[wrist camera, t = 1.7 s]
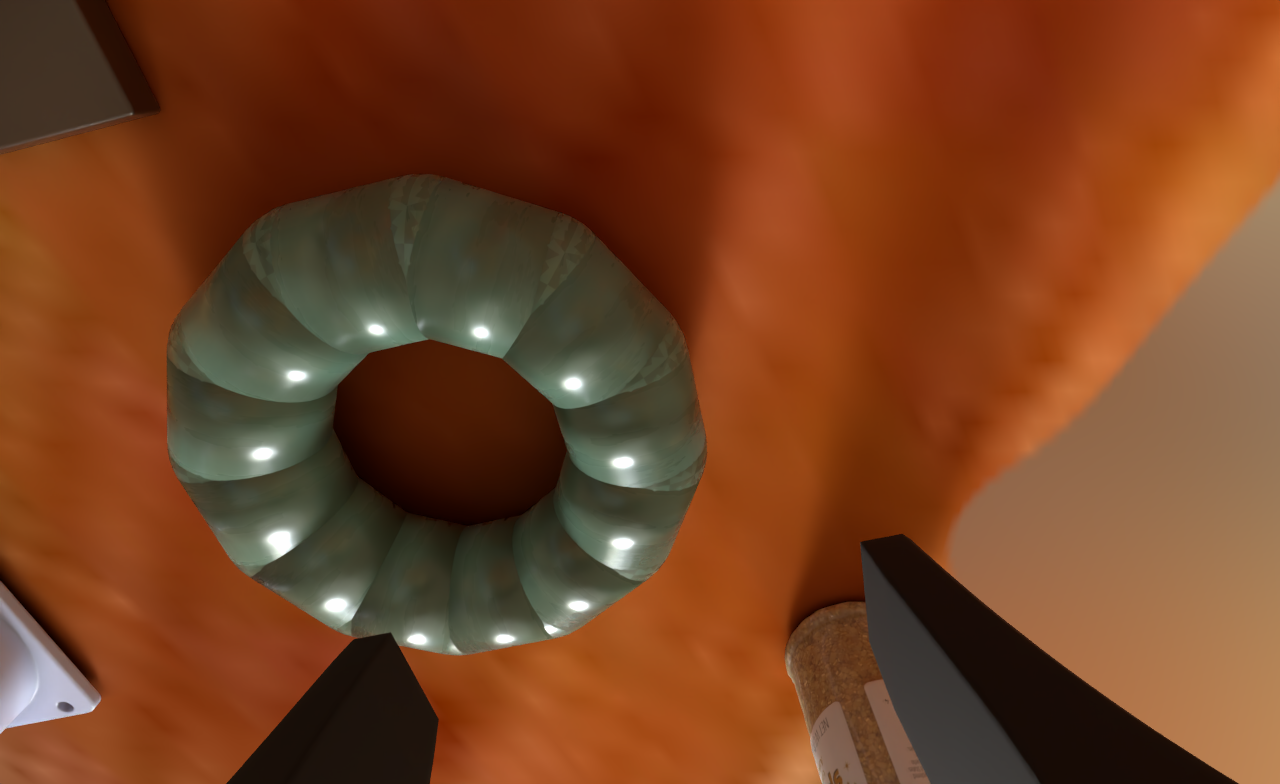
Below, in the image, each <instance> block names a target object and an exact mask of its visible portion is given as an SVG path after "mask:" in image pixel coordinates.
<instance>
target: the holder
mask: <svg viewBox="0 0 1280 784" xmlns="http://www.w3.org/2000/svg"><path fill="white" fill-rule="evenodd" d="M159 112H160V107H159V105H158V103H157V101H156V100H155V98H154V96H153V94H152V92H151V90H150V88H149V86H148V84H147V82H146V80H145V78H144V76H143V74H142V72H141V70H140V68H139V66H138V64H137V62H136V60H135V58H134V57H133V55H132V53H131V51H130V49H129V47H128V45H127V43H126V41H125V39H124V37H123V35H122V33H121V31H120V29H119V27H118V25H117V23H116V21H115V19H114V17H113V16H112V14H111V12H110V10H109V8H108V6H107V4H106V2H105V0H0V154H4V153H8V152H12V151H16V150H20V149H24V148H27V147H31V146H35V145H39V144H43V143H47V142H50V141H54V140H58V139H62V138H66V137H70V136H73V135H77V134H81V133H85V132H89V131H93V130H97V129H100V128H104V127H108V126H112V125H116V124H120V123H123V122H127V121H131V120H135V119H139V118H143V117H146V116H150V115H154V114H158V113H159Z"/></svg>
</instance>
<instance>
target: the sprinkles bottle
mask: <svg viewBox="0 0 1280 784" xmlns="http://www.w3.org/2000/svg"><path fill="white" fill-rule="evenodd" d="M785 662H786V668H787V673H788V675H789V676H790V678H791V679H792V681H793V683H794V684H795V687H796V691H797V694H798V697H799V701H800V704H801V708H802V711H803V714H804V718H805V721H806V725H807V729H808V732H809V735H810V738H811V740H810V741H811V747H812V752H813V755H814V758H815V762H816V765H817V768H818V772H819V775H820V778H821V781H822V784H931V783H930V781H929V779H928V777H927V775H926V773H925V771H924V769H923V767H922V765H921V763H920V761H919V759H918V757H917V755H916V753H915V751H914V749H913V747H912V745H911V743H910V741H909V739H908V737H907V735H906V733H905V731H904V728H903V726H902V724H901V722H900V720H899V718H898V716H897V714H896V712H895V710H894V707H893V705H892V702H891V699H890V697H889V694H888V691H887V689H886V686H885V683H884V681H883V678H882V675H881V673H880V670H879V667H878V664H877V662H876V659H875V656H874V653H873V651H872V648H871V645H870V642H869V634H868V623H867V612H866V602H844V603H840V604H836V605H832V606H829V607H826V608H822V609H820V610H817V611H816V612H815V613H814V614H812V615H811V616H809V617H807V618H805V619H804V620H803V621H802V622H801V624H800V625H799V626H798V627H797V628H796V630H795V631H794V632H793V633H792V634H791V636H790V639H789V641H788V642H787V644H786V649H785Z"/></svg>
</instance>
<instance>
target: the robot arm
mask: <svg viewBox="0 0 1280 784" xmlns="http://www.w3.org/2000/svg"><path fill="white" fill-rule="evenodd" d="M860 546H861V557H862V568H863V579H864V590H865V601H866V612H867V623H868V634H869V642H870V645H871V648H872V651H873V653H874V656H875V659H876V662H877V664H878V667H879V670H880V673H881V675H882V678H883V681H884V683H885V686H886V689H887V691H888V694H889V697H890V699H891V702H892V705H893V707H894V710H895V712H896V714H897V716H898V718H899V720H900V722H901V724H902V726H903V728H904V731H905V733H906V735H907V737H908V739H909V741H910V743H911V745H912V747H913V749H914V751H915V753H916V755H917V757H918V759H919V761H920V763H921V765H922V767H923V769H924V771H925V773H926V775H927V777H928V779H929V781H930V783H931V784H1238V783H1237V782H1235V781H1234V780H1232V779H1230V778H1229V777H1227V776H1225V775H1224V774H1222V773H1220V772H1219V771H1217V770H1215V769H1214V768H1212V767H1211V766H1209V765H1208V764H1206V763H1205V762H1203V761H1201V760H1200V759H1198V758H1197V757H1195V756H1193V755H1192V754H1191V753H1189V752H1187V751H1186V750H1184V749H1183V748H1181V747H1180V746H1178V745H1177V744H1175V743H1173V742H1172V741H1170V740H1169V739H1167V738H1166V737H1164V736H1163V735H1161V734H1160V733H1158V732H1156V731H1155V730H1154V729H1152V728H1151V727H1149V726H1148V725H1146V724H1145V723H1143V722H1141V721H1140V720H1139V719H1137V718H1136V717H1134V716H1133V715H1131V714H1130V713H1129V712H1127V711H1126V710H1124V709H1123V708H1121V707H1120V706H1118V705H1117V704H1116V703H1114V702H1113V701H1111V700H1110V699H1108V698H1107V697H1106V696H1104V695H1103V694H1101V693H1100V692H1099V691H1097V690H1096V689H1094V688H1093V687H1091V686H1090V685H1089V684H1088V683H1086V682H1085V681H1083V680H1082V679H1081V678H1079V677H1078V676H1076V675H1075V674H1074V673H1072V672H1071V671H1070V670H1068V669H1067V668H1066V667H1064V666H1063V665H1062V664H1060V663H1059V662H1058V661H1056V660H1055V659H1054V658H1052V657H1051V656H1050V655H1048V654H1047V653H1046V652H1044V651H1043V650H1042V649H1040V648H1039V647H1038V646H1037V645H1035V644H1034V643H1033V642H1032V641H1030V640H1029V639H1028V638H1026V637H1025V636H1024V635H1022V634H1021V633H1020V632H1019V631H1018V630H1016V629H1015V628H1014V627H1013V626H1011V625H1010V624H1009V623H1007V622H1006V621H1005V620H1004V619H1002V618H1001V617H1000V616H999V615H997V614H996V613H995V612H994V611H993V610H991V609H990V608H989V607H987V606H986V605H985V604H984V603H983V602H981V601H980V600H979V599H978V598H977V597H976V596H974V595H973V594H972V593H971V592H970V591H969V590H967V589H966V588H965V587H964V586H963V585H962V584H960V583H959V582H958V581H957V580H956V579H955V578H953V577H952V576H951V575H950V574H949V573H948V572H946V571H945V570H944V569H943V568H942V567H941V566H940V565H939V564H937V563H936V562H935V561H934V560H933V559H932V558H931V557H930V556H928V555H927V554H926V553H925V552H924V551H923V550H922V549H921V548H920V547H918V546H917V545H916V544H915V543H914V542H913V541H912V540H911V539H910V538H908V537H906V536H905V535H903V534H899V535H894V536H889V537H883V538H878V539H873V540H868V541H863V542H860ZM100 701H101V696H100V694H99V692H98V691H97V690H96V689H95V688H94V687H93V685H92V684H91V683H90V682H89V681H88V680H87V679H86V677H85V676H84V675H83V674H82V673H81V672H80V671H79V670H78V668H77V667H76V666H75V665H74V664H73V663H72V662H71V660H70V659H69V658H68V657H67V656H66V655H65V654H64V652H63V651H62V650H61V649H60V648H59V647H58V646H57V644H56V643H55V642H54V641H53V640H52V639H51V638H50V636H49V635H48V634H47V633H46V632H45V631H44V630H43V628H42V627H41V626H40V625H39V624H38V623H37V622H36V621H35V619H34V618H33V617H32V616H31V615H30V614H29V613H28V611H27V610H26V609H25V608H24V607H23V606H22V605H21V603H20V602H19V601H18V600H17V599H16V598H15V597H14V595H13V594H12V593H11V592H10V591H9V590H8V589H7V587H6V586H5V585H4V584H3V583H2V582H1V581H0V734H1V733H2V732H3V731H4V729H5V728H10V727H15V726H20V725H26V724H31V723H36V722H41V721H47V720H52V719H57V718H62V717H68V716H73V715H78V714H83V713H88V712H91V711H93V710H94V708H95V707H96V706H97V705H98V704H99V702H100ZM438 720H439V719H438V717H437V716H436V714H435V712H434V710H433V708H432V706H431V705H430V703H429V701H428V699H427V697H426V695H425V694H424V692H423V690H422V688H421V686H420V685H419V683H418V681H417V679H416V677H415V675H414V674H413V672H412V670H411V668H410V666H409V664H408V663H407V661H406V659H405V657H404V655H403V653H402V652H401V650H400V648H399V646H398V644H397V643H396V641H395V639H394V637H393V635H392V633H391V632H389V633H384V634H379V635H374V636H369V637H363V638H358V639H354V640H353V641H352V642H351V643H350V644H349V645H348V646H347V647H346V648H345V649H344V650H343V651H342V652H341V653H340V654H339V656H338V657H337V658H336V659H335V660H334V661H333V662H332V663H331V664H330V666H329V667H328V668H327V669H326V670H325V671H324V672H323V674H322V675H321V676H320V677H319V678H318V679H317V680H316V682H315V683H314V684H313V685H312V686H311V687H310V688H309V690H308V691H307V692H306V693H305V694H304V695H303V697H302V698H301V699H300V700H299V701H298V702H297V704H296V705H295V706H294V707H293V708H292V709H291V711H290V712H289V713H288V714H287V715H286V716H285V717H284V719H283V720H282V721H281V722H280V723H279V724H278V726H277V727H276V728H275V729H274V730H273V731H272V732H271V734H270V735H269V736H268V737H267V738H266V739H265V740H264V742H263V743H262V744H261V745H260V746H259V747H258V748H257V750H256V751H255V752H254V753H253V754H252V755H251V756H250V758H249V759H248V760H247V761H246V762H245V763H244V764H243V766H242V767H241V768H240V769H239V770H238V771H237V772H236V773H235V775H234V776H233V777H232V778H231V779H230V780H229V781H228V782H227V783H226V784H430V777H431V771H432V765H433V759H434V751H435V743H436V735H437V727H438Z"/></svg>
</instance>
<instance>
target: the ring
mask: <svg viewBox="0 0 1280 784" xmlns="http://www.w3.org/2000/svg"><path fill="white" fill-rule="evenodd" d="M428 339H431V340H435V341H439V342H442V343H446V344H450V345H454V346H457V347H461V348H465V349H469V350H473V351H476V352H480V353H484V354H488V355H491V356H495V357H499V358H502V359H503V360H504V361H505V362H506V363H507V364H509V365H510V366H511V367H512V368H513V369H514V370H515V371H516V372H518V373H519V374H520V375H521V376H522V377H523V378H524V379H525V380H527V381H528V382H529V383H530V384H531V385H532V386H533V387H534V388H536V389H537V390H538V391H539V392H540V393H541V394H542V395H543V396H545V397H546V398H547V399H548V400H549V401H550V402H551V403H552V404H553V408H554V411H555V414H556V417H557V420H558V423H559V426H560V429H561V432H562V435H563V439H564V442H565V445H566V448H567V452H566V456H565V459H564V462H563V465H562V469H561V472H560V475H559V478H558V482H557V485H556V487H555V488H554V489H553V490H552V491H550V492H549V493H548V494H547V495H546V496H544V497H543V498H542V499H541V500H539V501H538V502H537V503H536V504H535V505H533V506H532V507H531V508H530V509H529V510H527V511H526V512H525V513H524V514H522V515H520V516H515V517H510V518H505V519H500V520H495V521H490V522H485V523H481V524H476V525H471V526H465V525H461V524H456V523H452V522H447V521H443V520H438V519H434V518H429V517H425V516H420V515H416V514H411V513H407V512H406V511H404V510H403V509H401V508H400V507H399V506H397V505H396V504H395V503H393V502H392V501H391V500H389V499H388V498H386V497H385V496H384V495H382V494H381V493H380V492H378V491H377V490H375V489H374V488H373V487H371V486H370V485H369V484H367V483H366V482H365V481H363V480H362V479H360V478H359V477H358V476H357V475H356V473H355V471H354V469H353V467H352V465H351V463H350V461H349V459H348V457H347V455H346V453H345V451H344V449H343V447H342V445H341V443H340V441H339V439H338V437H337V435H336V433H335V431H334V429H333V422H334V414H335V406H336V397H337V389H338V384H339V383H340V382H341V381H342V380H343V379H344V378H345V377H346V376H347V375H348V374H349V373H350V372H351V371H352V370H353V369H354V368H355V367H356V366H357V365H358V364H359V363H360V362H361V361H362V360H363V359H364V358H365V357H366V356H367V355H368V354H369V353H370V352H375V351H379V350H383V349H388V348H392V347H397V346H401V345H406V344H410V343H414V342H419V341H423V340H428ZM167 445H168V453H169V459H170V462H171V465H172V468H173V470H174V472H175V474H176V476H177V478H178V479H179V481H180V483H181V484H182V486H183V487H184V489H185V490H186V492H187V493H188V495H189V496H190V498H191V499H192V501H193V502H194V504H195V505H196V507H197V508H198V510H199V512H200V513H201V515H202V516H203V518H204V519H205V521H206V522H207V524H208V525H209V527H210V528H211V530H212V531H213V533H214V534H215V536H216V537H217V539H218V541H219V542H220V544H221V545H222V547H223V548H224V550H225V551H226V553H227V554H228V556H229V557H230V559H231V560H232V561H233V563H234V564H235V565H236V566H237V567H238V568H239V569H240V570H241V571H242V572H244V573H245V574H246V575H248V576H249V577H250V578H252V579H253V580H255V581H257V582H258V583H260V584H262V585H263V586H265V587H266V588H268V589H270V590H271V591H273V592H274V593H276V594H278V595H279V596H281V597H282V598H284V599H286V600H287V601H289V602H290V603H292V604H294V605H295V606H297V607H298V608H300V609H302V610H303V611H305V612H306V613H308V614H310V615H311V616H313V617H314V618H316V619H318V620H319V621H321V622H322V623H324V624H326V625H327V626H329V627H331V628H332V629H335V630H336V631H338V632H340V633H343V634H345V635H349V636H353V637H357V638H363V637H369V636H374V635H379V634H384V633H389V632H391V633H392V635H393V637H394V639H395V641H396V643H397V644H398V645H399V646H405V647H410V648H415V649H420V650H426V651H431V652H436V653H441V654H449V655H468V654H474V653H480V652H485V651H490V650H496V649H501V648H506V647H512V646H517V645H522V644H527V643H533V642H538V641H543V640H549V639H554V638H558V637H562V636H565V635H568V634H570V633H572V632H574V631H576V630H577V629H579V628H581V627H582V626H584V625H585V624H587V623H588V622H589V621H591V620H592V619H593V618H595V617H596V616H598V615H599V614H600V613H602V612H603V611H605V610H606V609H607V608H609V607H610V606H611V605H613V604H614V603H616V602H617V601H618V600H620V599H621V598H622V597H624V596H625V595H627V594H628V593H629V592H631V591H632V590H633V589H635V588H636V587H638V586H639V585H640V584H642V583H643V582H645V581H646V580H647V579H649V578H650V577H651V576H652V575H653V574H654V573H655V572H656V571H658V569H659V568H660V567H661V566H662V564H663V563H664V562H665V560H666V558H667V557H668V555H669V553H670V551H671V548H672V546H673V543H674V541H675V539H676V536H677V534H678V531H679V529H680V527H681V524H682V522H683V520H684V517H685V515H686V512H687V510H688V508H689V505H690V503H691V500H692V498H693V496H694V493H695V491H696V489H697V486H698V484H699V481H700V479H701V477H702V474H703V471H704V468H705V464H706V458H707V441H706V434H705V429H704V424H703V419H702V415H701V410H700V405H699V400H698V395H697V390H696V386H695V381H694V376H693V371H692V366H691V362H690V357H689V352H688V347H687V344H686V340H685V337H684V334H683V332H682V330H681V329H680V327H679V325H678V323H677V321H676V320H675V318H674V317H673V316H672V315H671V314H670V312H669V311H668V310H667V309H666V308H665V307H664V306H663V305H662V304H661V303H660V302H659V301H658V300H657V298H656V297H655V296H654V295H653V294H652V293H651V292H650V291H649V290H648V289H647V288H646V287H645V286H644V285H643V284H642V283H641V282H640V281H639V280H638V279H637V278H636V277H635V275H634V274H633V273H632V272H631V271H630V270H629V269H628V268H627V267H626V266H625V265H624V264H623V263H622V262H621V261H620V260H619V259H618V258H617V257H616V256H615V255H614V253H613V252H612V251H611V250H610V249H609V248H608V247H607V246H606V245H605V244H604V243H603V242H602V241H601V240H600V239H599V238H598V237H597V236H596V235H595V234H594V233H593V232H592V231H591V230H590V229H589V228H588V227H587V226H585V225H584V224H583V223H581V222H579V221H578V220H576V219H575V218H573V217H571V216H569V215H566V214H563V213H561V212H557V211H554V210H551V209H548V208H544V207H541V206H538V205H534V204H531V203H528V202H525V201H521V200H518V199H515V198H512V197H508V196H505V195H502V194H499V193H495V192H492V191H489V190H485V189H482V188H479V187H476V186H472V185H469V184H466V183H463V182H459V181H456V180H453V179H450V178H447V177H442V176H438V175H432V174H411V175H406V176H399V177H395V178H391V179H387V180H383V181H379V182H375V183H371V184H367V185H363V186H358V187H354V188H350V189H346V190H342V191H338V192H334V193H330V194H326V195H322V196H318V197H314V198H310V199H306V200H301V201H297V202H293V203H289V204H286V205H283V206H280V207H277V208H275V209H272V210H271V211H269V212H268V213H266V214H264V215H263V216H261V217H260V218H258V219H257V220H256V221H255V222H253V223H252V225H251V226H250V227H249V228H248V229H247V230H246V231H245V232H244V233H243V235H242V236H241V237H240V238H239V239H238V241H237V242H236V243H235V244H234V246H233V247H232V248H231V249H230V250H229V252H228V253H227V254H226V255H225V256H224V258H223V259H222V260H221V261H220V263H219V264H218V265H217V266H216V267H215V269H214V270H213V271H212V272H211V274H210V275H209V276H208V277H207V278H206V280H205V281H204V282H203V283H202V285H201V286H200V287H199V288H198V289H197V291H196V292H195V293H194V294H193V295H192V297H191V298H190V299H189V300H188V302H187V303H186V304H185V305H184V306H183V308H182V309H181V311H180V312H179V314H178V315H177V317H176V318H175V320H174V322H173V324H172V326H171V329H170V332H169V338H168V344H167Z"/></svg>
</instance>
